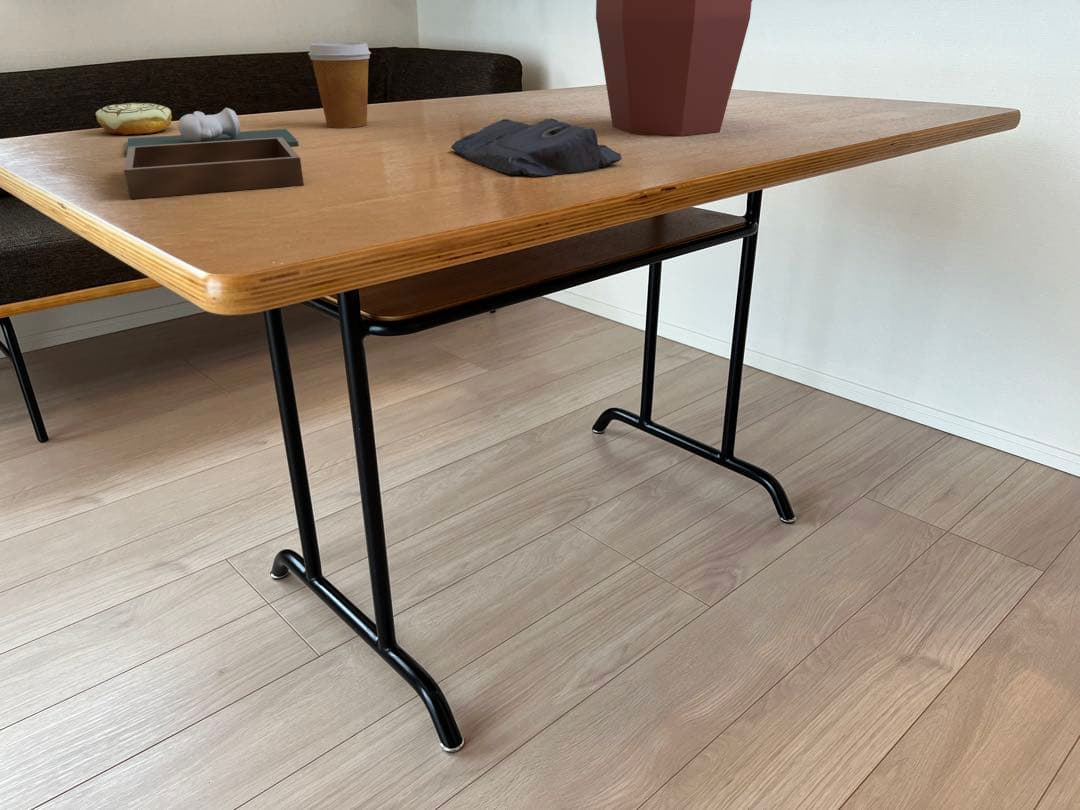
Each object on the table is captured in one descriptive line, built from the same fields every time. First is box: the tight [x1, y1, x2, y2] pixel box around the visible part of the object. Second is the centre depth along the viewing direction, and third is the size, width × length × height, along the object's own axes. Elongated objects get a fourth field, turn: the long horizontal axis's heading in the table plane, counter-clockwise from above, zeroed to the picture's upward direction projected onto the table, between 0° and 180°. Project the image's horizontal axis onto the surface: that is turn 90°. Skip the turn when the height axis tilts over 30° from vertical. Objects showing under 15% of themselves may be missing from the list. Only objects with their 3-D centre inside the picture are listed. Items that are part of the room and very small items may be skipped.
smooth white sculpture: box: [177, 107, 241, 142], centre depth 115 cm, size 4×8×5 cm
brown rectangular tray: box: [123, 137, 304, 200], centre depth 95 cm, size 18×16×3 cm
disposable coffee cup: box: [307, 41, 372, 129], centre depth 131 cm, size 10×10×12 cm
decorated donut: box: [95, 102, 173, 136], centre depth 128 cm, size 10×11×4 cm
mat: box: [124, 128, 300, 158], centre depth 117 cm, size 22×13×1 cm, turn 112°
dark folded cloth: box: [450, 117, 623, 178], centre depth 105 cm, size 15×22×5 cm
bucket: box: [595, 0, 753, 137], centre depth 123 cm, size 24×22×25 cm
